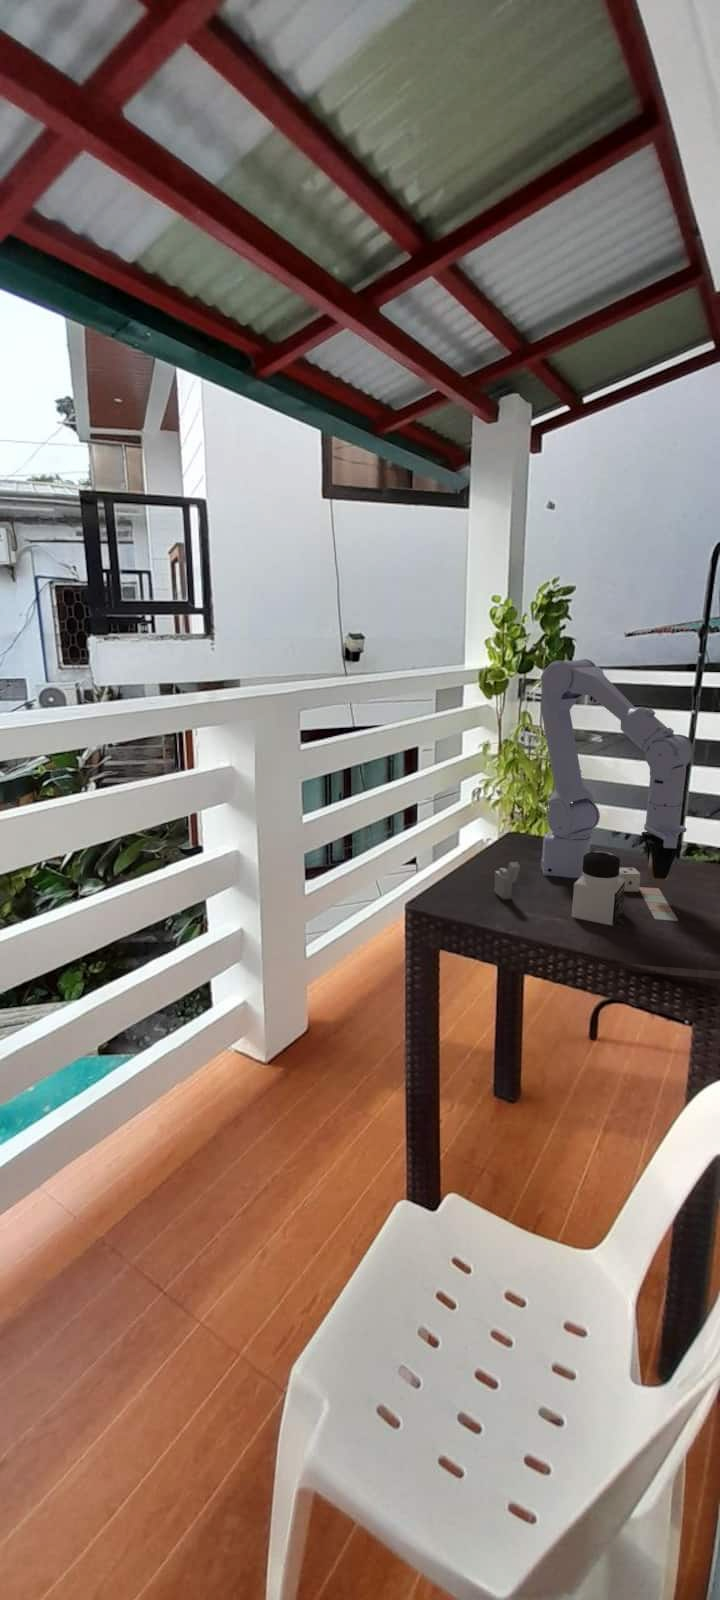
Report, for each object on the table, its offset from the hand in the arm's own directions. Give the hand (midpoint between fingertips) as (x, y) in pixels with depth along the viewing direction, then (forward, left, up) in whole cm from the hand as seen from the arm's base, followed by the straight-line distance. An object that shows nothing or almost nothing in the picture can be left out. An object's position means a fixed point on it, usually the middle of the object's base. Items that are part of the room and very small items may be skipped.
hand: (657, 874), depth 129 cm
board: (-2, -2, -6) cm, 6 cm away
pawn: (0, 0, -1) cm, 1 cm away
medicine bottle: (-12, -9, -6) cm, 16 cm away
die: (-4, +5, -5) cm, 8 cm away
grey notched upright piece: (-27, -2, -6) cm, 28 cm away
